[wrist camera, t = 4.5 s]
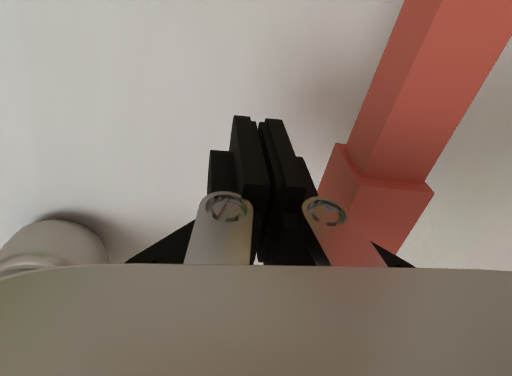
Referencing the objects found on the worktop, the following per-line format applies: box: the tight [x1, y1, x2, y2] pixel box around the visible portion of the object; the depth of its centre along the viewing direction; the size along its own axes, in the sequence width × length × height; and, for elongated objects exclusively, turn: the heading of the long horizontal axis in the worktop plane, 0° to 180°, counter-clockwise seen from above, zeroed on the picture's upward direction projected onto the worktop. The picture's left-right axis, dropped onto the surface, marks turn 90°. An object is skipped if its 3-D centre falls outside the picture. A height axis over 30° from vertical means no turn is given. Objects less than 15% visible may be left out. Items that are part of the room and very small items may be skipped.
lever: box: [317, 0, 512, 255], centre depth 10 cm, size 18×4×3 cm, turn 169°
